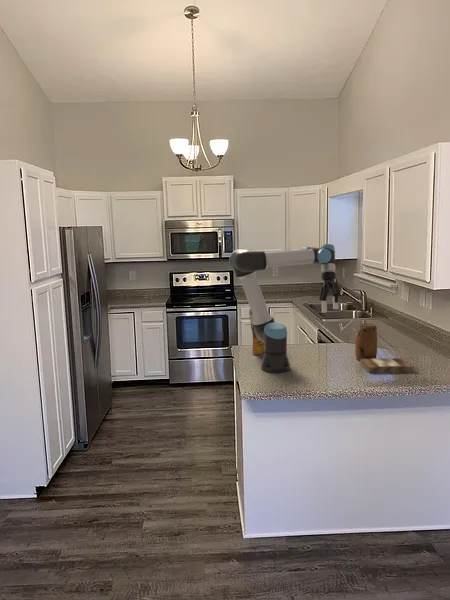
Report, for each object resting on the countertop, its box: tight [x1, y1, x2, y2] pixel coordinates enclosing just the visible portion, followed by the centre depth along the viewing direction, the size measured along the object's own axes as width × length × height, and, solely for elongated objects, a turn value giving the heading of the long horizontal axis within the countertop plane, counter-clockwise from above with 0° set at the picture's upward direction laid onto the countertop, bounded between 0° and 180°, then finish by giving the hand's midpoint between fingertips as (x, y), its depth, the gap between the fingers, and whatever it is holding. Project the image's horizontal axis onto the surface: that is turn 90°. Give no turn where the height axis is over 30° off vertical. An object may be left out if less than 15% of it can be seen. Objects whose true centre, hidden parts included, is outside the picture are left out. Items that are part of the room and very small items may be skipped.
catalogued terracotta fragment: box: [354, 323, 378, 361], centre depth 261 cm, size 11×8×20 cm
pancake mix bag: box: [248, 308, 264, 356], centre depth 280 cm, size 7×19×28 cm, turn 141°
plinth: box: [359, 357, 413, 374], centre depth 246 cm, size 22×15×3 cm
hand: (330, 310), depth 256 cm, fingers open, 13 cm apart
